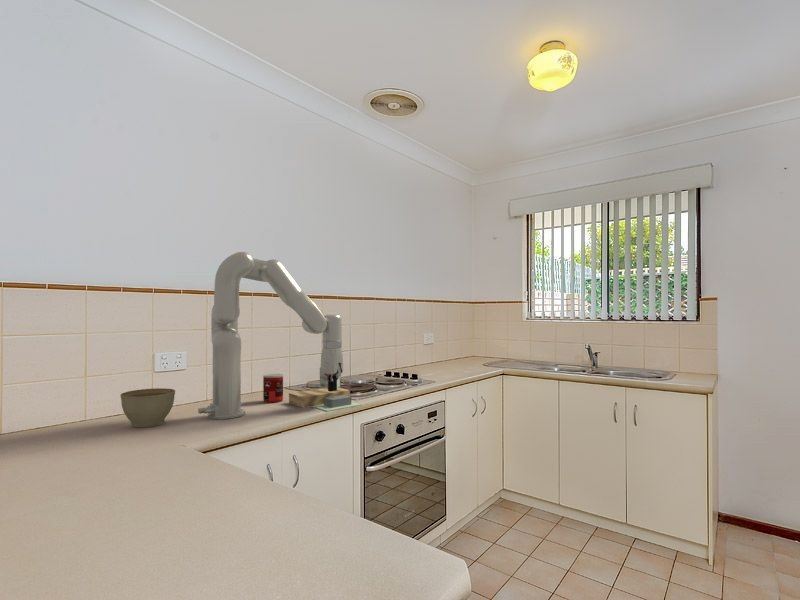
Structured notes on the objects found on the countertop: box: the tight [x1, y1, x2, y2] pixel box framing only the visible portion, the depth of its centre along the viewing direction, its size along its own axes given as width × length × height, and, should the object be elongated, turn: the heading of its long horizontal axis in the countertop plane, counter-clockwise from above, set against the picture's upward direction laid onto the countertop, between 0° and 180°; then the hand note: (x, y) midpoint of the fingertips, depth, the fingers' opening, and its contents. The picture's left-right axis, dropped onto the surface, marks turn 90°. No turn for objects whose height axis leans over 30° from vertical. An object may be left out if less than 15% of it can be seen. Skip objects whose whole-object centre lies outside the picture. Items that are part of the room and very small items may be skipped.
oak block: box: [288, 387, 351, 408], centre depth 186 cm, size 22×12×4 cm, turn 132°
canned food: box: [262, 373, 284, 404], centre depth 187 cm, size 8×8×11 cm
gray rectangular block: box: [324, 395, 352, 408], centre depth 177 cm, size 9×6×3 cm, turn 132°
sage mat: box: [311, 401, 362, 412], centre depth 176 cm, size 16×11×1 cm
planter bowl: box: [120, 387, 176, 428], centre depth 150 cm, size 16×16×11 cm
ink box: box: [319, 366, 341, 389], centre depth 205 cm, size 9×5×12 cm, turn 58°
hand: (332, 390), depth 179 cm, fingers closed
